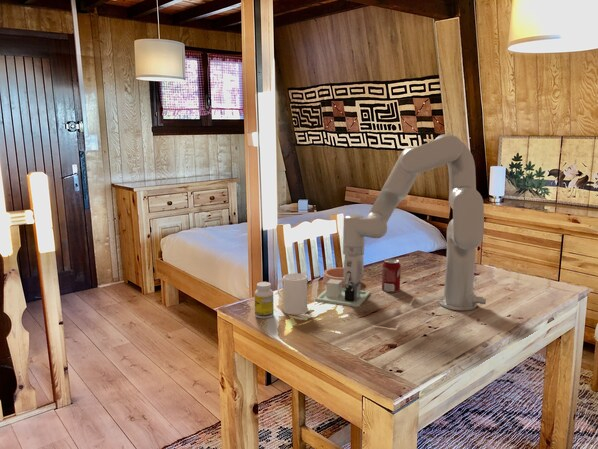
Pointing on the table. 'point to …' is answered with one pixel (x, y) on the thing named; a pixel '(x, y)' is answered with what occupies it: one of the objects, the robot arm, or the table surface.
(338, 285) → the beige block
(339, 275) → the bowl
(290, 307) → the mug
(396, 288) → the soda can
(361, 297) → the parts tray
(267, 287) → the pill bottle
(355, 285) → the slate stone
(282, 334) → the table surface
